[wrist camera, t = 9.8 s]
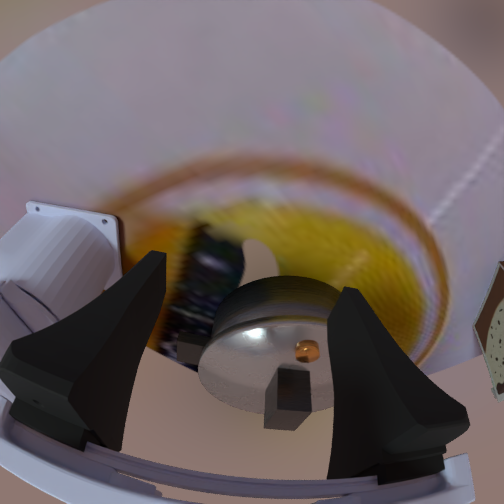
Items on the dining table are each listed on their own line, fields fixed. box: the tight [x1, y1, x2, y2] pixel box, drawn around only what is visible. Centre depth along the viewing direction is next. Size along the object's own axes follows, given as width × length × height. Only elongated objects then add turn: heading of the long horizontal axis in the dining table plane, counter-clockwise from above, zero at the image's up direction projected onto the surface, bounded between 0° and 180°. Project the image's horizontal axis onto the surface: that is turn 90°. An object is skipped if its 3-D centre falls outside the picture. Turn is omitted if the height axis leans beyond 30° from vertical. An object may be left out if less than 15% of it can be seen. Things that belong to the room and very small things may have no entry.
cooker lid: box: [198, 315, 334, 431], centre depth 22 cm, size 14×14×4 cm
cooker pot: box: [177, 276, 341, 365], centre depth 26 cm, size 18×13×5 cm
